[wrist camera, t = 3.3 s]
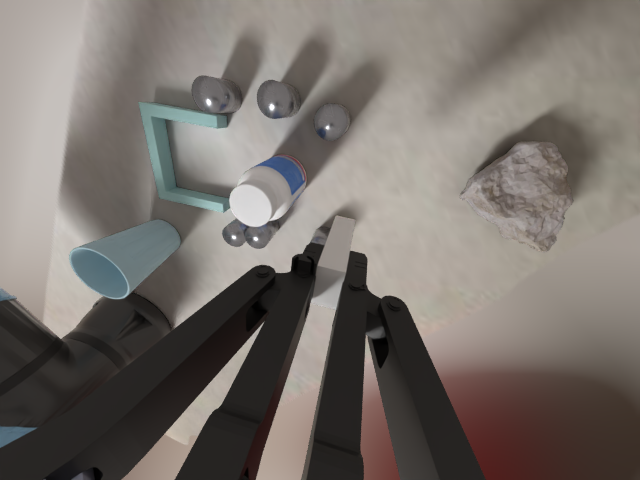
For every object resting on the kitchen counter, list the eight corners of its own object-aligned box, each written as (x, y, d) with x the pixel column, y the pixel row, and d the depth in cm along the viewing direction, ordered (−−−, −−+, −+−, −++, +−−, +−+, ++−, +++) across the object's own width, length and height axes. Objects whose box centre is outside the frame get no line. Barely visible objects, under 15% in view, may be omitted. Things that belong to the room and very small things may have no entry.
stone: (531, 123, 22) (581, 128, 17) (569, 204, 24) (621, 229, 19) (446, 177, 25) (465, 194, 20) (487, 242, 28) (513, 272, 23)
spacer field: (225, 227, 34) (208, 240, 31) (214, 72, 25) (189, 66, 21) (333, 251, 32) (328, 268, 29) (365, 96, 23) (364, 94, 20)
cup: (154, 255, 40) (91, 297, 31) (133, 213, 36) (55, 247, 27) (193, 256, 38) (139, 301, 29) (175, 212, 35) (107, 247, 26)
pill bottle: (266, 148, 27) (220, 166, 19) (310, 159, 27) (283, 182, 19) (263, 193, 30) (222, 225, 22) (303, 203, 30) (277, 239, 22)
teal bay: (170, 193, 33) (159, 198, 31) (152, 102, 27) (138, 101, 26) (231, 207, 32) (223, 212, 30) (226, 115, 27) (216, 116, 25)
